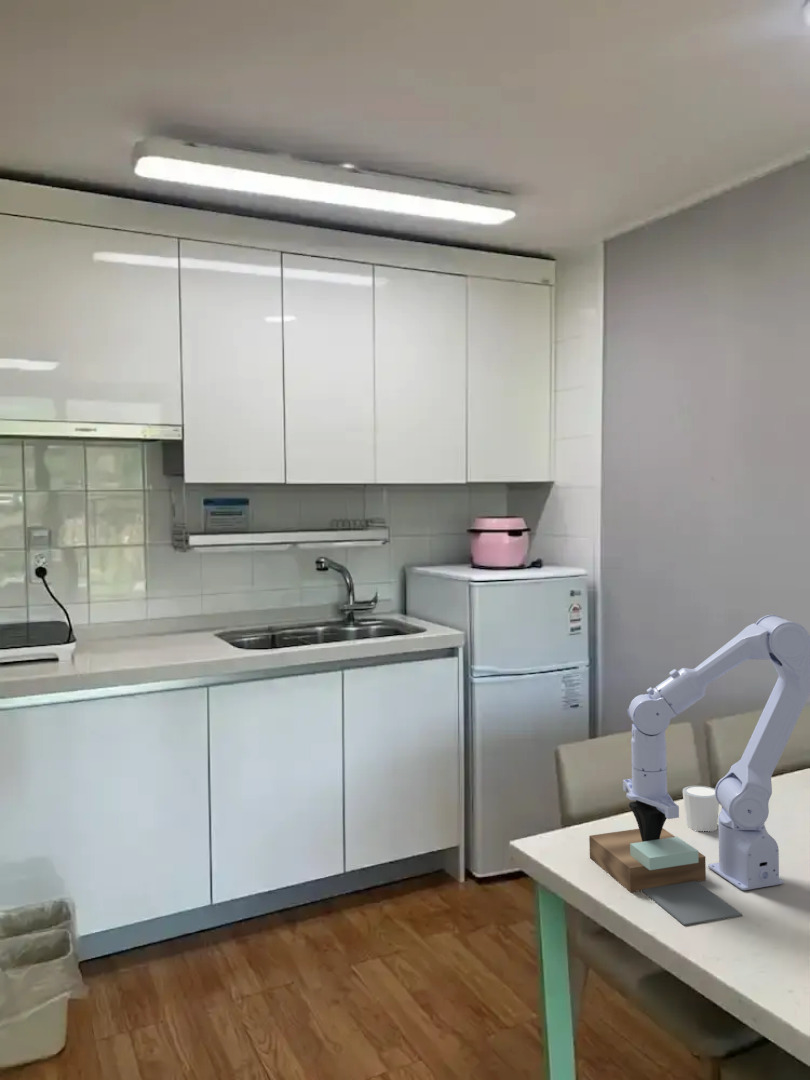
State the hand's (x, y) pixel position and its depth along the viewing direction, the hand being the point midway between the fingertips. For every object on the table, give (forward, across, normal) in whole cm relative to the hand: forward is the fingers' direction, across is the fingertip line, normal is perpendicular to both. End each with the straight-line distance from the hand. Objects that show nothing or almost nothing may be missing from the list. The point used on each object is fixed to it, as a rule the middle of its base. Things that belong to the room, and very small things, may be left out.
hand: (650, 845), depth 141 cm
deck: (+5, -2, 0) cm, 5 cm away
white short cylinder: (+5, -15, +20) cm, 25 cm away
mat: (+5, +12, 0) cm, 12 cm away
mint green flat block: (+1, +4, 0) cm, 4 cm away
